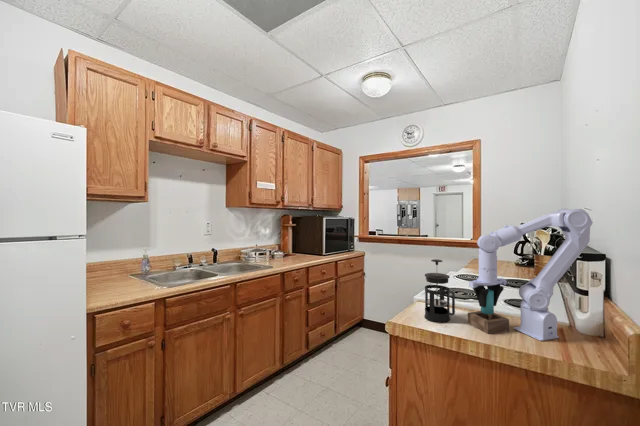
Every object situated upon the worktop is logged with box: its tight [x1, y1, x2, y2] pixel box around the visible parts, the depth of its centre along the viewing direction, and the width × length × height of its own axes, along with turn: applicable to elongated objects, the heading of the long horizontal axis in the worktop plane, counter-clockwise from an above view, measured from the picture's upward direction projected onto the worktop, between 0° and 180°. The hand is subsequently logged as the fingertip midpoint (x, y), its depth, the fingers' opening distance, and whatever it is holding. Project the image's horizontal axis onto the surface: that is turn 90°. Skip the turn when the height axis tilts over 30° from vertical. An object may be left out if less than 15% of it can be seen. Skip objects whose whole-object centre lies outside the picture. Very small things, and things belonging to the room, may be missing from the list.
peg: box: [480, 288, 495, 314], centre depth 101 cm, size 4×4×8 cm
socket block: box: [467, 310, 510, 335], centre depth 101 cm, size 9×9×4 cm
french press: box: [423, 258, 456, 324], centre depth 109 cm, size 12×9×23 cm
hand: (487, 305), depth 101 cm, fingers closed on peg, 4 cm apart
